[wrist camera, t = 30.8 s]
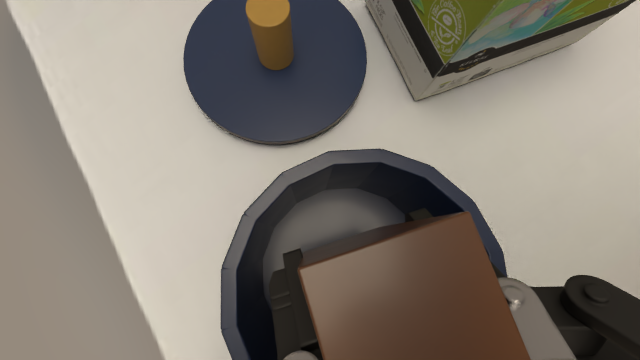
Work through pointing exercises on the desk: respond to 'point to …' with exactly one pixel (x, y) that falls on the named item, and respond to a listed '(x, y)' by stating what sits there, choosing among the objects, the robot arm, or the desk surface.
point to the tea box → (479, 35)
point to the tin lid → (275, 66)
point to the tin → (325, 228)
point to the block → (409, 295)
